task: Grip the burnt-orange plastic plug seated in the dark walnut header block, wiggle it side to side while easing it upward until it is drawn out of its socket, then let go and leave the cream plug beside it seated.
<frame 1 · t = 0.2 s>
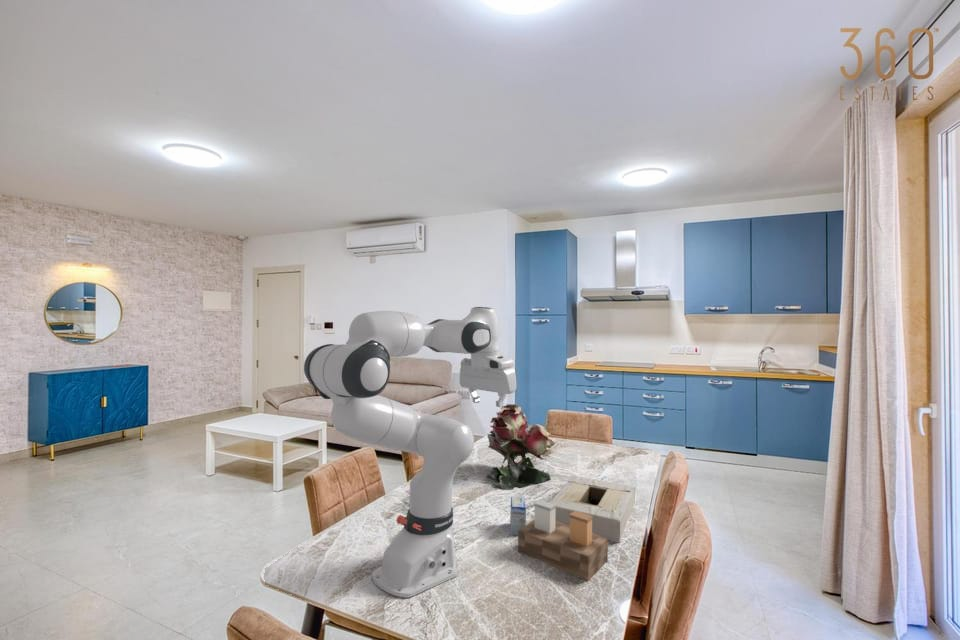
hand: (487, 404, 133), 39 cm above the table, tool pointing down, fingers open, 8 cm apart
header block: (562, 556, 119), on the table
pale hollow square block: (593, 516, 146), on the table
medicine box: (517, 530, 134), on the table
rose bouquet: (514, 476, 182), on the table
cream plug: (544, 522, 123), point 8 cm above the table, slide at 0.0 cm
orange plug: (580, 535, 116), point 8 cm above the table, slide at 0.0 cm
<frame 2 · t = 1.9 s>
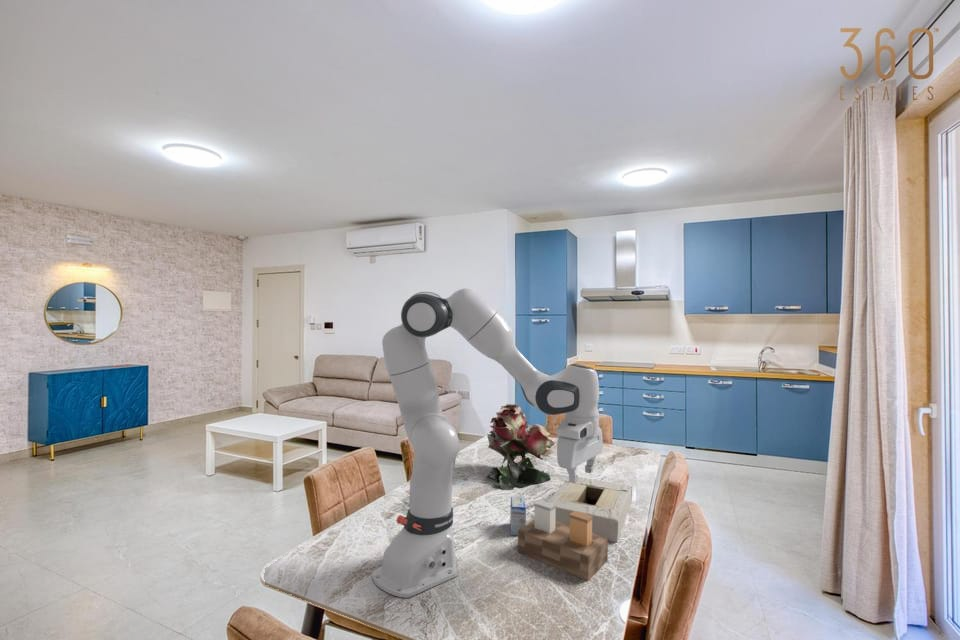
hand: (581, 477, 116), 23 cm above the table, tool pointing down, fingers open, 8 cm apart
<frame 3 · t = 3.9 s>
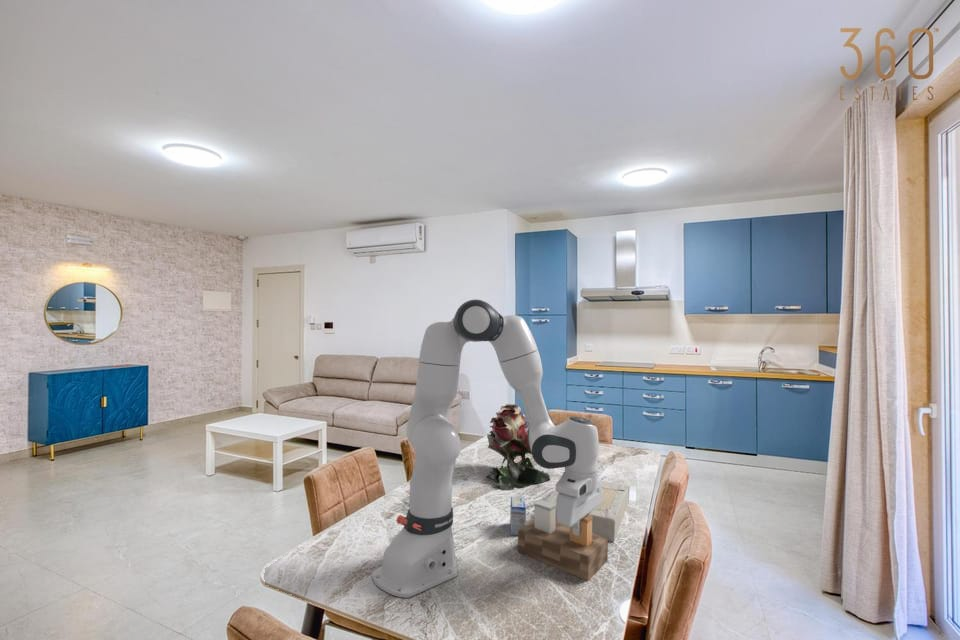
hand: (580, 531, 116), 9 cm above the table, tool pointing down, fingers closed on orange plug, 3 cm apart
orange plug: (580, 535, 116), point 8 cm above the table, slide at 0.0 cm, touching gripper
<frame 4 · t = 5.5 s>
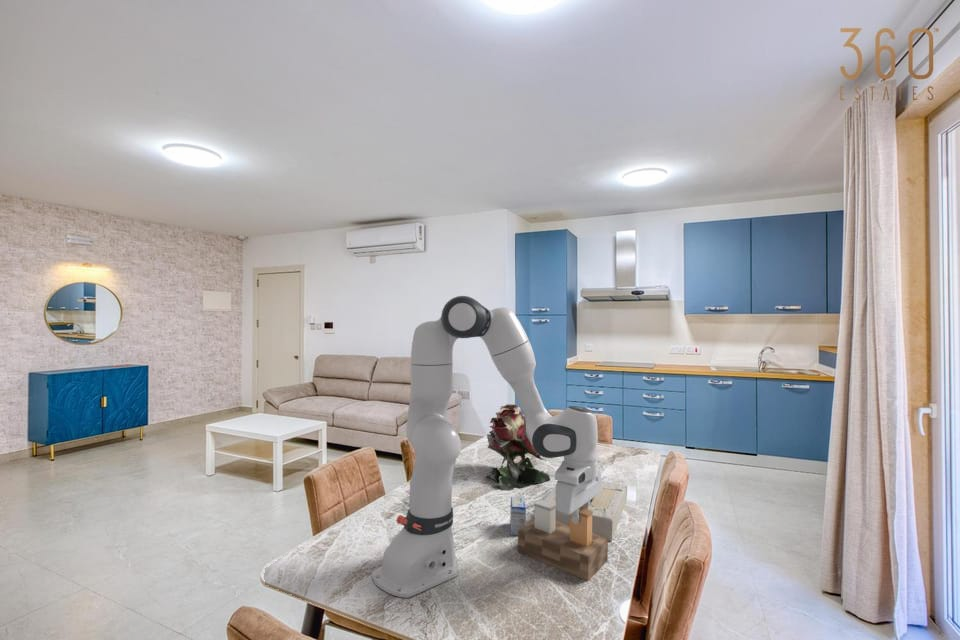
hand: (580, 519, 116), 12 cm above the table, tool pointing down, fingers closed on orange plug, 3 cm apart
orange plug: (580, 529, 116), point 9 cm above the table, slide at 1.4 cm, touching gripper
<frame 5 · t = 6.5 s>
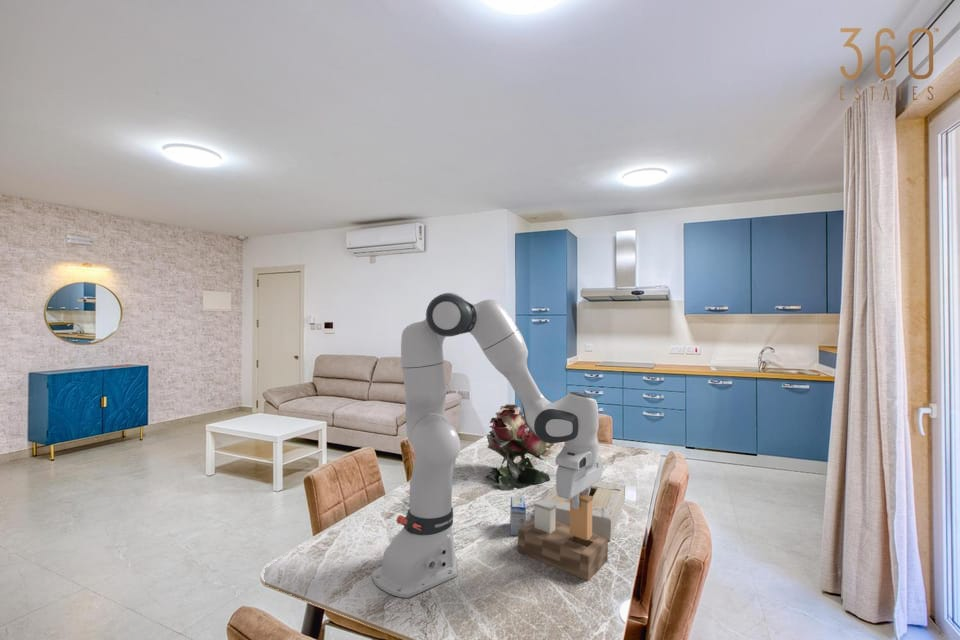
hand: (580, 505, 116), 15 cm above the table, tool pointing down, fingers closed on orange plug, 3 cm apart
orange plug: (581, 515, 116), point 13 cm above the table, slide at 5.2 cm, touching gripper
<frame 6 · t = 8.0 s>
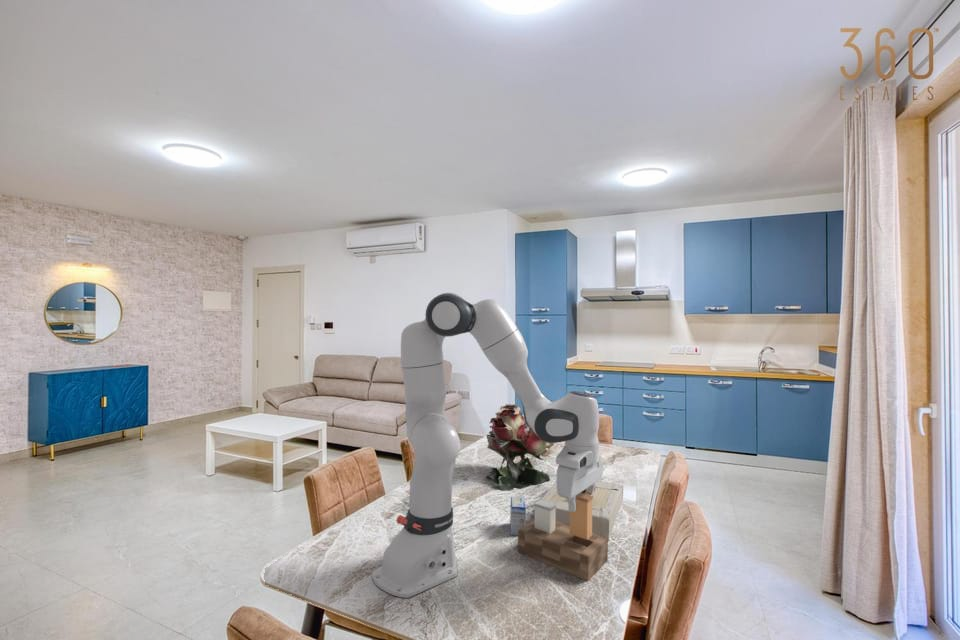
hand: (581, 504, 116), 16 cm above the table, tool pointing down, fingers open, 8 cm apart
orange plug: (581, 514, 116), point 13 cm above the table, slide at 5.4 cm
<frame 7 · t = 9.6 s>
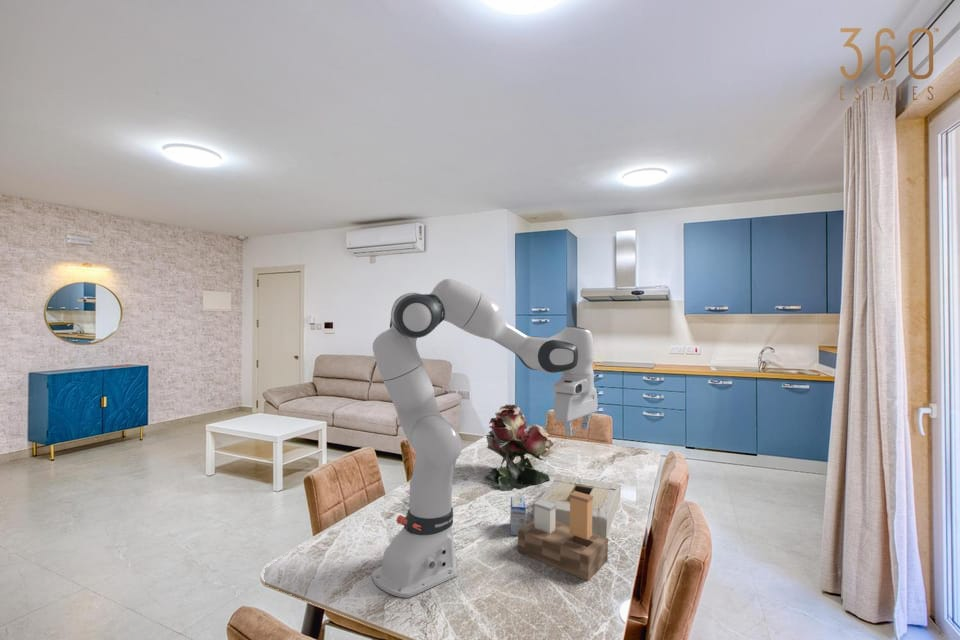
hand: (577, 432, 123), 33 cm above the table, tool pointing down, fingers open, 8 cm apart
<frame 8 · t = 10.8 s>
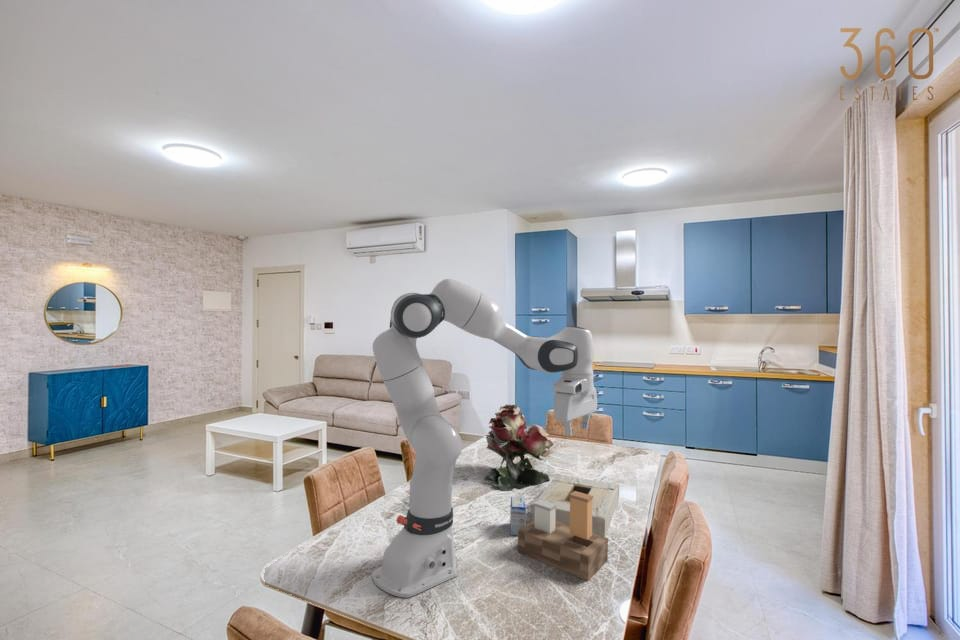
hand: (576, 432, 123), 33 cm above the table, tool pointing down, fingers open, 8 cm apart
at the end: orange plug slide at 5.4 cm; cream plug slide at 0.0 cm; the gripper is holding nothing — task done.
